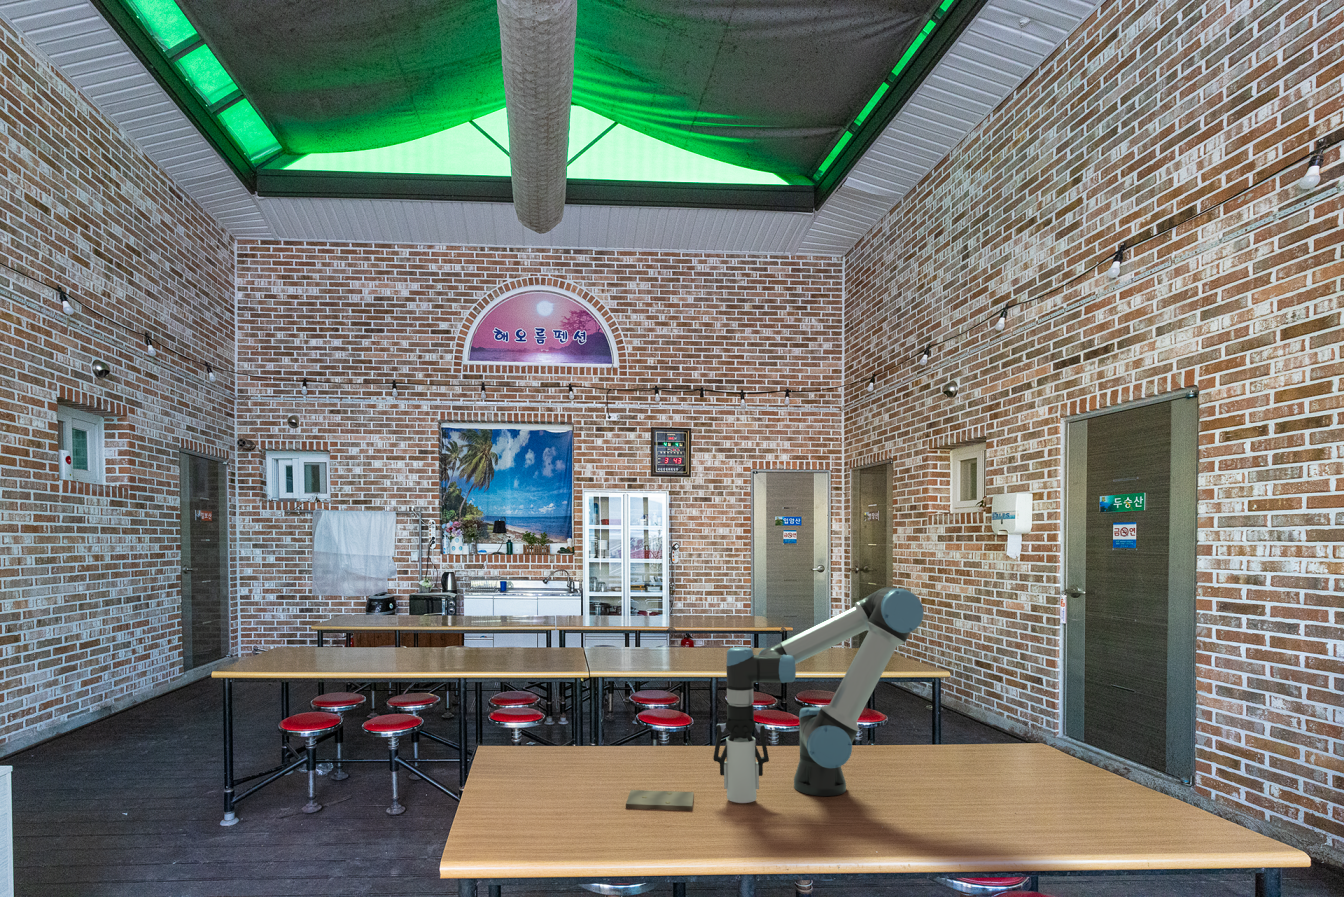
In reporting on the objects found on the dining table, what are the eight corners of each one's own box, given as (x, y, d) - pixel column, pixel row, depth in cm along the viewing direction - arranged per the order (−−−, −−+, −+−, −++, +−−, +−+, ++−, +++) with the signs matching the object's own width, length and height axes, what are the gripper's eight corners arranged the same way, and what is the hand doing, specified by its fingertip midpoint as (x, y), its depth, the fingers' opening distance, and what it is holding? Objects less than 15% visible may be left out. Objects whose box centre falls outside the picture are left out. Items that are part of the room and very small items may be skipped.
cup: (756, 793, 218) (755, 735, 220) (756, 803, 210) (755, 742, 212) (727, 793, 219) (726, 734, 221) (726, 802, 211) (725, 742, 213)
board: (693, 796, 218) (693, 791, 218) (692, 810, 206) (692, 805, 206) (630, 794, 219) (630, 789, 219) (625, 808, 207) (625, 803, 207)
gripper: (776, 701, 221) (778, 784, 218) (703, 700, 222) (704, 782, 219) (778, 706, 213) (780, 792, 210) (703, 706, 215) (703, 791, 212)
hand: (741, 787), depth 215 cm, fingers closed on cup, 8 cm apart
